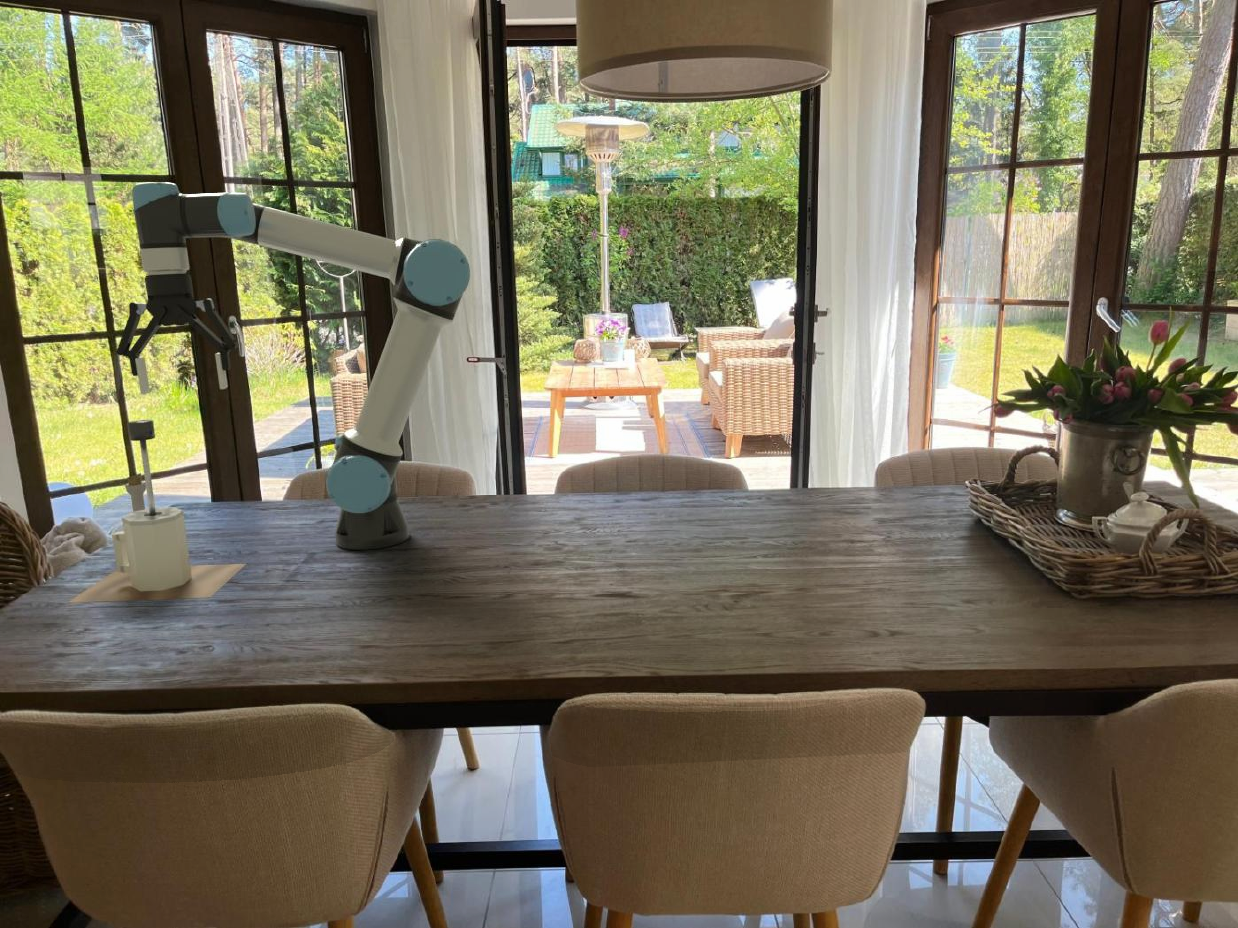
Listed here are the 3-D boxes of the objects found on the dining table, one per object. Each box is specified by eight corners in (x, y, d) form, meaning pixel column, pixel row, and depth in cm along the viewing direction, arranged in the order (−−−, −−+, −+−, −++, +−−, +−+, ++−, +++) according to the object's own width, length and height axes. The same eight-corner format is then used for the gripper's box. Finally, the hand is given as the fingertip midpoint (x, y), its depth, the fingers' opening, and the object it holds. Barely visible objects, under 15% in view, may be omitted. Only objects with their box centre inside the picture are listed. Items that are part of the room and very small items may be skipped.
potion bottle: (150, 568, 177) (138, 479, 173) (111, 566, 179) (97, 477, 175) (180, 554, 185) (169, 468, 181) (142, 552, 187) (130, 467, 183)
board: (247, 571, 174) (246, 563, 174) (211, 605, 157) (210, 597, 156) (119, 575, 173) (118, 568, 173) (68, 610, 156) (67, 602, 155)
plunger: (171, 528, 165) (157, 419, 160) (161, 534, 161) (146, 423, 156) (148, 529, 164) (133, 420, 160) (138, 535, 160) (123, 424, 156)
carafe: (197, 572, 169) (189, 506, 166) (177, 589, 160) (167, 520, 158) (133, 575, 169) (124, 508, 166) (109, 592, 160) (99, 522, 157)
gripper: (245, 269, 168) (260, 383, 173) (100, 276, 164) (119, 392, 169) (235, 270, 161) (251, 388, 166) (83, 276, 157) (104, 398, 162)
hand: (185, 391), depth 167 cm, fingers open, 13 cm apart
